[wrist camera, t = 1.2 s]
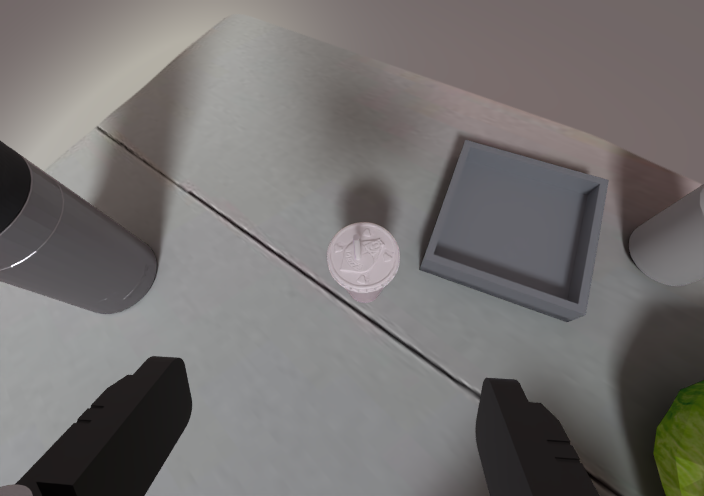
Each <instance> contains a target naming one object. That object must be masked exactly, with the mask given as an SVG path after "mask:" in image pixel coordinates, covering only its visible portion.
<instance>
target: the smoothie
mask: <svg viewBox="0 0 704 496" xmlns="http://www.w3.org/2000/svg"><path fill="white" fill-rule="evenodd" d="M327 262H328V266H329V271H330V272H331V274H332V276H333V278H334V279H335V280H336V281H337V282H338V283H339V284H340V285H341V286H343V287H344V288H345V289H346V290H347V291H348V293H349V294H350V295H351V297H352V298H353V299H355V300H356V301H358V302H362V303H367V302H371V301H373V300H375V299H376V298H377V297H378V296H379V294H380V292H381V291H382V289H383V288H384V287H385V286H386V285H387V284H388V283H389V282H390V281H391V280H393V278H394V276H395V275H396V273H397V271H398V267H399V263H400V253H399V247H398V244H397V242H396V240H395V238H394V237H393V236H392V234H391V233H390V232H389V231H387V230H386V229H385V228H383V227H381V226H379V225H377V224H374V223H369V222H358V223H353V224H350V225H348V226H346V227H344V228H342V229H341V230H340V231H338V232H337V233H336V234H335V236H334V237H333V238H332V240H331V242H330V244H329V247H328V252H327Z"/></svg>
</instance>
